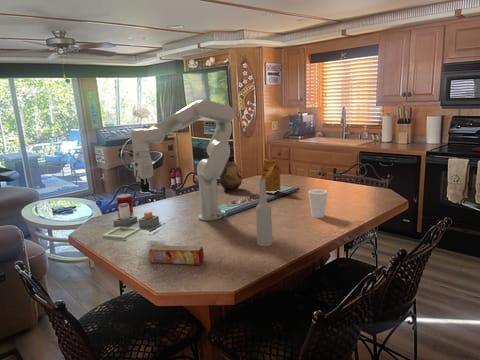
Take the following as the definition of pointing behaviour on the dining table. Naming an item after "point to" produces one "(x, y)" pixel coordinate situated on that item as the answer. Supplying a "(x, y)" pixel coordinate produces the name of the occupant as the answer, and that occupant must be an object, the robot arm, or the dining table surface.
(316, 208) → the foam cup
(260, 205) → the bottle
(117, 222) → the housing
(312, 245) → the dining table surface
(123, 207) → the cylinder
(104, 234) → the tray
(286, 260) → the dining table surface
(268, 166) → the coffee package
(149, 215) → the tan rounded piece
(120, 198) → the canned food
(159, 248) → the snack package
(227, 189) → the ceramic jug
